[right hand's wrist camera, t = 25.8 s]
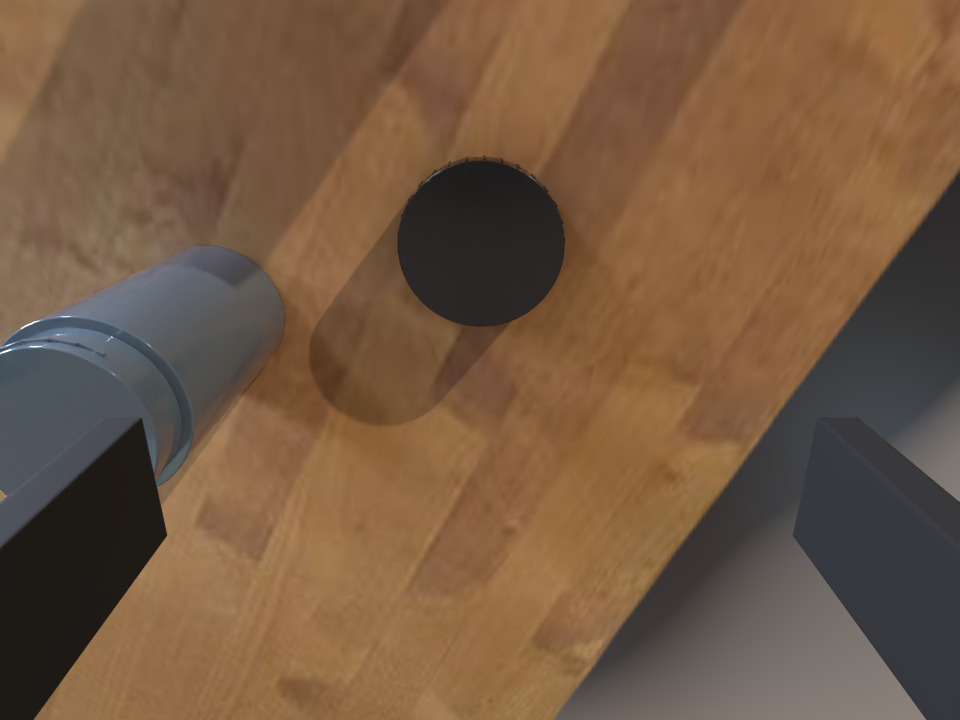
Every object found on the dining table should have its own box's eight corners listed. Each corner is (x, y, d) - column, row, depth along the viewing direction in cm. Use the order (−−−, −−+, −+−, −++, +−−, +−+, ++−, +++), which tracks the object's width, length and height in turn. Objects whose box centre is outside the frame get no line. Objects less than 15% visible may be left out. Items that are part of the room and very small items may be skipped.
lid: (460, 342, 39) (459, 357, 37) (369, 216, 36) (361, 223, 34) (590, 260, 37) (597, 270, 35) (504, 120, 35) (505, 122, 32)
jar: (167, 221, 36) (-36, 297, 22) (304, 281, 38) (196, 390, 23) (131, 343, 39) (-71, 482, 25) (260, 396, 40) (139, 557, 26)
